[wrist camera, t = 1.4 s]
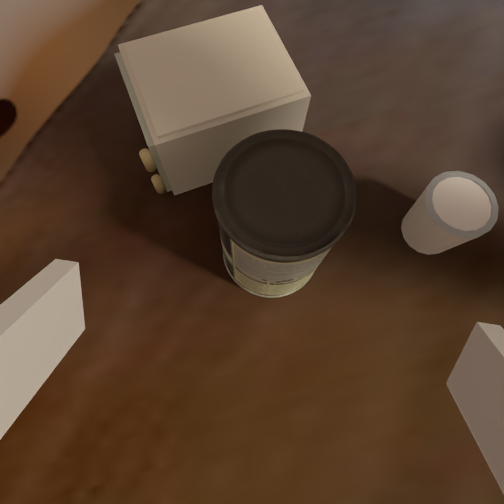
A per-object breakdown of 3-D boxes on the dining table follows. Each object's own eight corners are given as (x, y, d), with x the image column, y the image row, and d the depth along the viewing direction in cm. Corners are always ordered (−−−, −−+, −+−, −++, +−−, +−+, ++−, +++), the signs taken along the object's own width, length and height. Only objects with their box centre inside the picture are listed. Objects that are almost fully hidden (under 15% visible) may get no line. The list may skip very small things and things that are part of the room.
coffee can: (202, 245, 39) (182, 180, 26) (275, 190, 42) (290, 104, 28) (265, 320, 37) (278, 290, 24) (338, 257, 39) (387, 198, 26)
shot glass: (468, 250, 40) (513, 226, 33) (411, 267, 39) (445, 246, 33) (440, 195, 42) (477, 162, 35) (385, 211, 41) (413, 180, 35)
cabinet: (296, 154, 43) (312, 93, 34) (160, 201, 41) (135, 149, 31) (258, 77, 47) (262, 1, 37) (130, 115, 44) (99, 45, 35)
